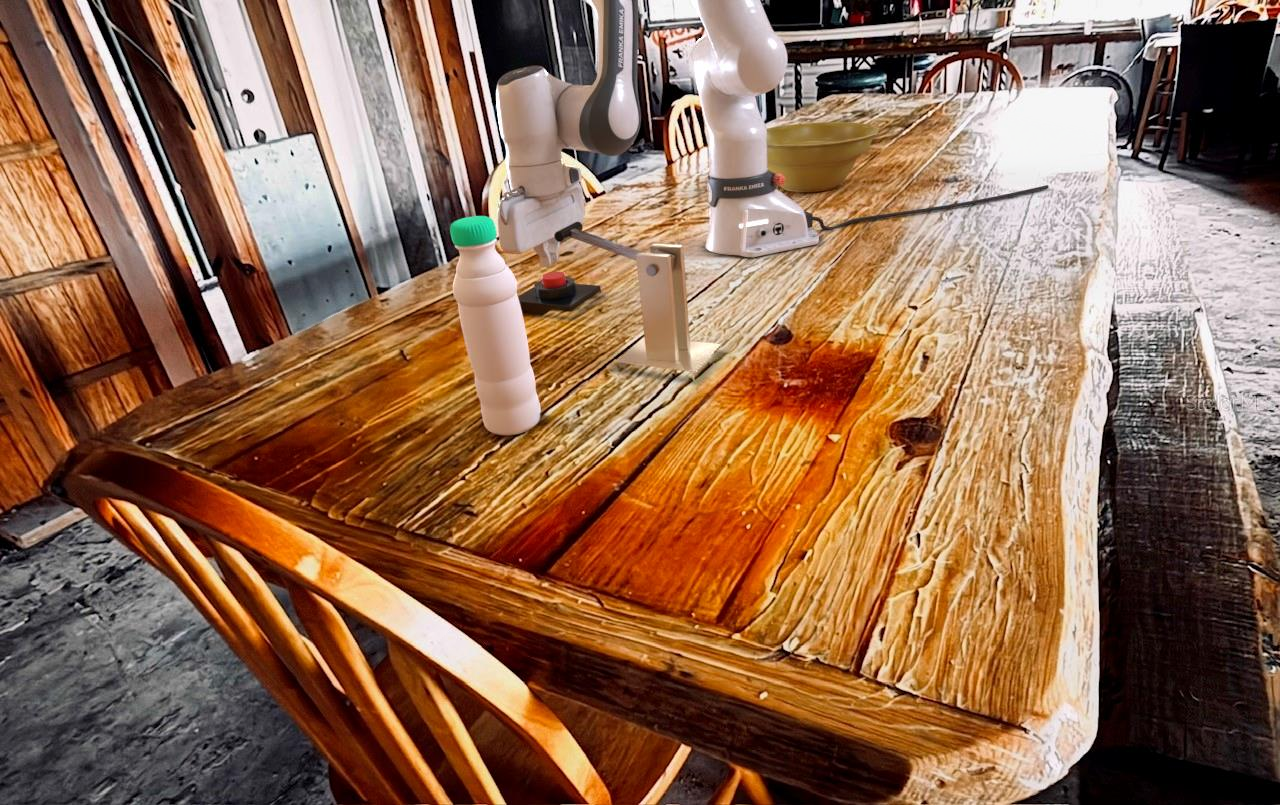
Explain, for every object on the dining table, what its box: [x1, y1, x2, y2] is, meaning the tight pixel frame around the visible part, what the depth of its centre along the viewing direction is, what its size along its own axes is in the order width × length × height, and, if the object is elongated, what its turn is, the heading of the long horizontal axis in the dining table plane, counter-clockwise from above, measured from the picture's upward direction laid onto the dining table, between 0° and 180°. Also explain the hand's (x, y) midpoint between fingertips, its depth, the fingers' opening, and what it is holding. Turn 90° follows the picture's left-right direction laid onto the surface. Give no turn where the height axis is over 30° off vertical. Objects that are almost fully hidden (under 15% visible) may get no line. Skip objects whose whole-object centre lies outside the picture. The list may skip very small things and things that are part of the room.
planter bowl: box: [766, 121, 880, 193], centre depth 179 cm, size 32×32×13 cm
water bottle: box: [449, 215, 542, 436], centre depth 80 cm, size 7×7×25 cm
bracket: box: [615, 243, 722, 373], centre depth 94 cm, size 12×9×16 cm
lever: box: [554, 222, 676, 273], centre depth 93 cm, size 16×5×2 cm, turn 63°
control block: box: [518, 276, 602, 316], centre depth 121 cm, size 12×10×4 cm
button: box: [541, 271, 566, 288], centre depth 120 cm, size 4×4×2 cm
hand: (550, 264), depth 119 cm, fingers closed
